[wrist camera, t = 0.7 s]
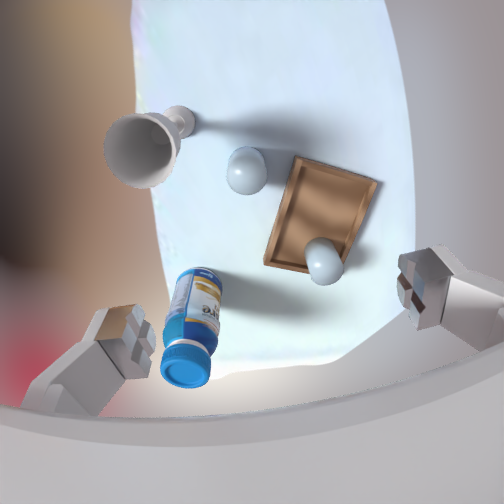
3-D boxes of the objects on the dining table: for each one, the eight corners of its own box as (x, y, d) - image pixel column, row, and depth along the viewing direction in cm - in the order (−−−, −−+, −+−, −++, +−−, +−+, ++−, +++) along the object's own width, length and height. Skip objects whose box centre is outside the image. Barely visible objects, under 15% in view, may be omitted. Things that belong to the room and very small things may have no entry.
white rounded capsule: (309, 234, 50) (317, 253, 45) (339, 240, 51) (348, 260, 46) (299, 260, 53) (305, 282, 48) (327, 266, 54) (336, 287, 48)
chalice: (212, 127, 42) (192, 158, 27) (175, 155, 44) (138, 202, 29) (180, 88, 39) (140, 97, 23) (144, 119, 41) (89, 147, 25)
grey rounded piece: (233, 143, 43) (231, 152, 38) (268, 151, 44) (271, 162, 39) (225, 176, 46) (222, 190, 41) (259, 184, 47) (261, 198, 42)
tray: (295, 155, 44) (297, 159, 43) (372, 179, 46) (377, 183, 45) (263, 258, 53) (263, 265, 52) (333, 272, 55) (336, 279, 54)
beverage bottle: (172, 266, 54) (145, 354, 37) (220, 264, 54) (212, 355, 37) (180, 303, 58) (161, 391, 41) (225, 302, 58) (219, 393, 41)
